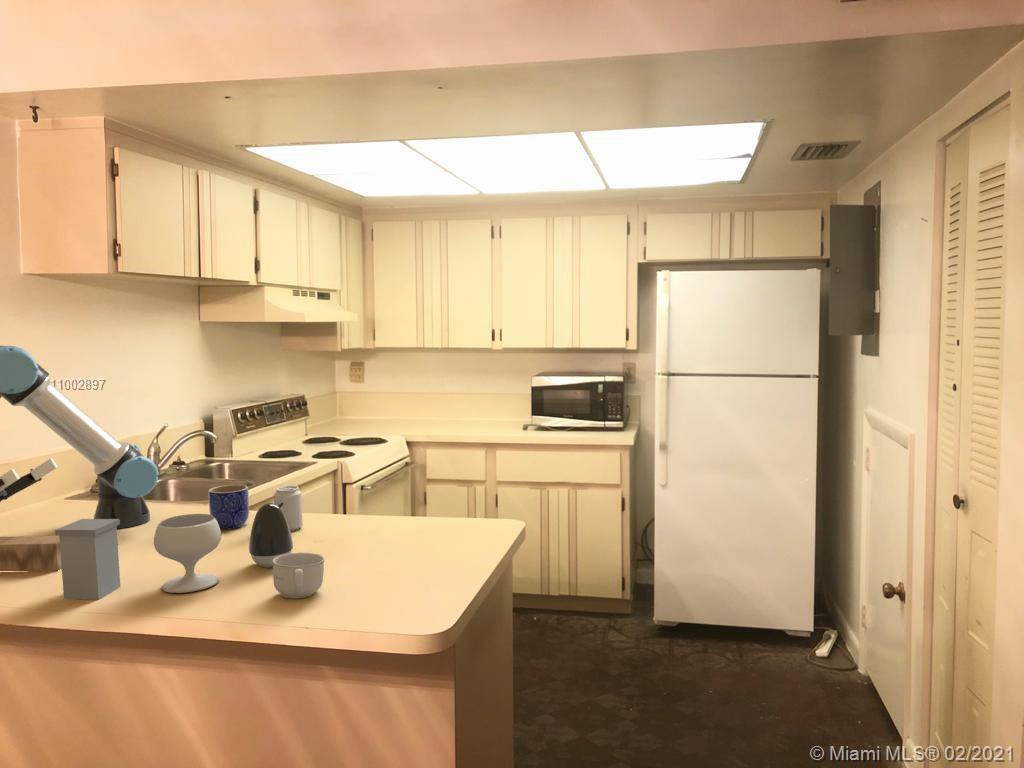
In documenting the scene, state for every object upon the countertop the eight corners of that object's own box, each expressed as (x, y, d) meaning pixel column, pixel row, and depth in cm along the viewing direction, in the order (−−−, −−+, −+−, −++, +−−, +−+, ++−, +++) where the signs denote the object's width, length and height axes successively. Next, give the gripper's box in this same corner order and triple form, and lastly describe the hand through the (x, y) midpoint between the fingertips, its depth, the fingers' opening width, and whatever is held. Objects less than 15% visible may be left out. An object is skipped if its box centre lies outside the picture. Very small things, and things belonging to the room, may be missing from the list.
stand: (60, 599, 169) (55, 529, 168) (86, 585, 178) (81, 518, 176) (99, 600, 168) (94, 530, 167) (123, 586, 177) (119, 519, 176)
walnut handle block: (60, 608, 190) (-14, 610, 189) (76, 598, 197) (4, 600, 196) (55, 543, 188) (-19, 545, 188) (71, 535, 195) (-1, 536, 195)
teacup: (280, 586, 175) (278, 551, 174) (329, 584, 176) (327, 549, 175) (265, 609, 161) (263, 571, 160) (319, 607, 162) (317, 569, 161)
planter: (258, 524, 228) (256, 486, 227) (226, 533, 219) (224, 494, 218) (233, 519, 234) (231, 482, 233) (202, 528, 225) (200, 490, 224)
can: (295, 533, 218) (293, 490, 217) (270, 532, 220) (268, 490, 219) (307, 525, 225) (305, 485, 224) (283, 525, 227) (281, 484, 226)
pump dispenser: (302, 559, 194) (299, 499, 193) (276, 572, 184) (273, 509, 183) (267, 556, 197) (264, 497, 196) (241, 568, 188) (237, 506, 186)
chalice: (196, 571, 186) (193, 509, 185) (236, 580, 179) (233, 516, 178) (143, 589, 174) (139, 524, 173) (184, 600, 167) (179, 531, 166)
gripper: (12, 511, 205) (76, 470, 202) (-65, 538, 180) (7, 493, 177) (-3, 487, 204) (60, 446, 202) (-83, 511, 179) (-11, 465, 177)
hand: (35, 468), depth 190 cm, fingers open, 13 cm apart
